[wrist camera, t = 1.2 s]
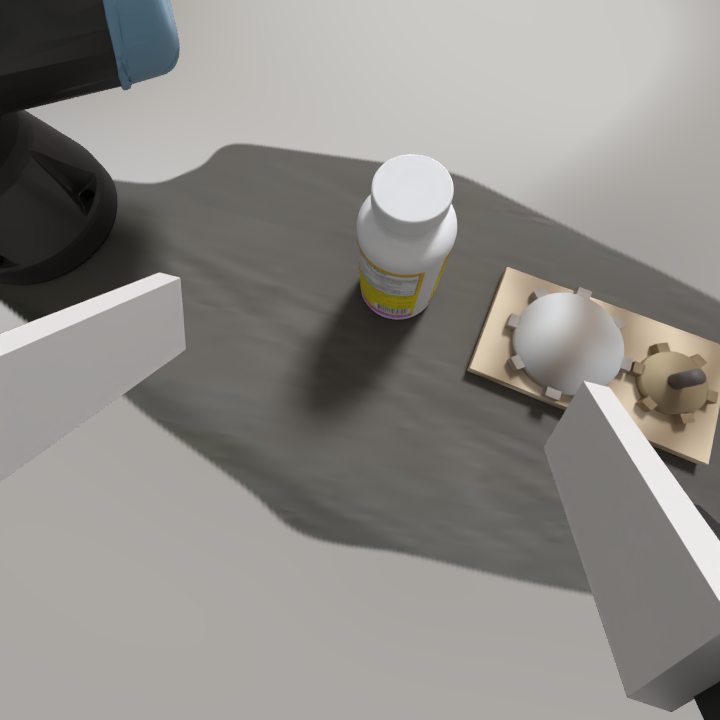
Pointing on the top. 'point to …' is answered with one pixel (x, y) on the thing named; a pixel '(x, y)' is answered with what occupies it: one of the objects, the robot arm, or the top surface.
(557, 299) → the gear board
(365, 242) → the supplement bottle
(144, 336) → the robot arm
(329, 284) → the top surface
